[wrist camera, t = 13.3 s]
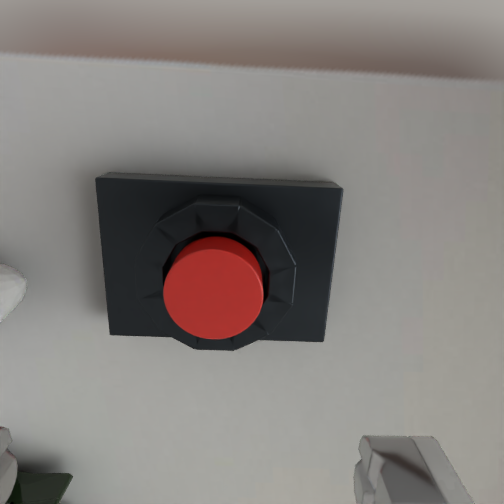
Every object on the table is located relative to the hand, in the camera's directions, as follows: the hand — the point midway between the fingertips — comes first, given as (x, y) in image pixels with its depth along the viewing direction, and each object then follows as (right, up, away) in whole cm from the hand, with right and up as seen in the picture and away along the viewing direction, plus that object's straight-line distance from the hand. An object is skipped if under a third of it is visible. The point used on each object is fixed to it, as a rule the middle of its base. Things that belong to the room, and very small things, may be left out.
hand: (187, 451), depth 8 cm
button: (0, +3, +8) cm, 9 cm away
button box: (0, +4, +11) cm, 12 cm away
